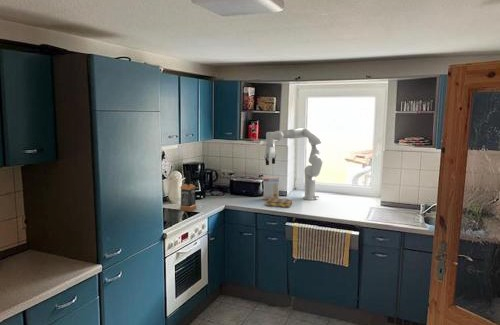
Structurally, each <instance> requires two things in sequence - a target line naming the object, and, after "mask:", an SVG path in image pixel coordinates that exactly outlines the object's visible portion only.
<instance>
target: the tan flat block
mask: <svg viewBox="0 0 500 325" xmlns="http://www.w3.org/2000/svg"><path fill="white" fill-rule="evenodd" d="M292 205H293V199H290V198H289V199H288V198H279V199H277V198H270V199H269V200H266V206H267V207H274V208H287V209H289V208H291V206H292Z"/></svg>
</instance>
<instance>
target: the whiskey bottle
mask: <svg viewBox="0 0 500 325" xmlns="http://www.w3.org/2000/svg"><path fill="white" fill-rule="evenodd" d="M179 188H180V206H179V207H180V208H179V210H180V211H183V212H188V213H189V212H190V213H191V212H193V211H195V209H196V210H197V202H196V185H194V184H193V183H192V178H191V171H190V170H188V171H187V170H186V171H185V178H184V184H182V185H181V186H179Z"/></svg>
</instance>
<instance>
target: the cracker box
mask: <svg viewBox="0 0 500 325" xmlns="http://www.w3.org/2000/svg"><path fill="white" fill-rule="evenodd" d="M279 188H280V177H278V176H277V177H274V176H264V177H263V201H268V200H269V199H270V198H277V199H280V198H279V197H280V196H279V194H280V193H279V190H280V189H279Z"/></svg>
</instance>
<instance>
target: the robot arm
mask: <svg viewBox="0 0 500 325" xmlns="http://www.w3.org/2000/svg"><path fill="white" fill-rule="evenodd" d="M300 138H301V139H302V138H306V139H307V140H308V142H309V144H310V145H311V151H310V154H309V158H308V163H309V164H310V165H307V166H306V167H305V168H304V170H303V171H304V195H303V197H302V199H303V200H307V201H314V200H315V201H316V200H317V198H320V195H318V194H316V178H317V177H318V176H319V175H320V173H321V169H322V167H323V166H322V165H323V163H324V162H323V161H324V160H323V157H322V156H321V151H322V150H321V148H322V147H321V146H322V145H321V144H322V141H323V139H322V137H321V136H320V135H319V134H317V132H315V131H314V130H313V129H312V128H309V127H302V128H301V127H300V128H292V129H286V130H275V131H267V132H266V133H265V140H266V141H265V153H264V160H265V166H270V161H269V160H270V159H271V164H274V165H275V164H276V157H277V154H276V149H275V145H276V144H275V142H276V141H281V140H283V139H289V140H291V139H292V140H293V139H300Z"/></svg>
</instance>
